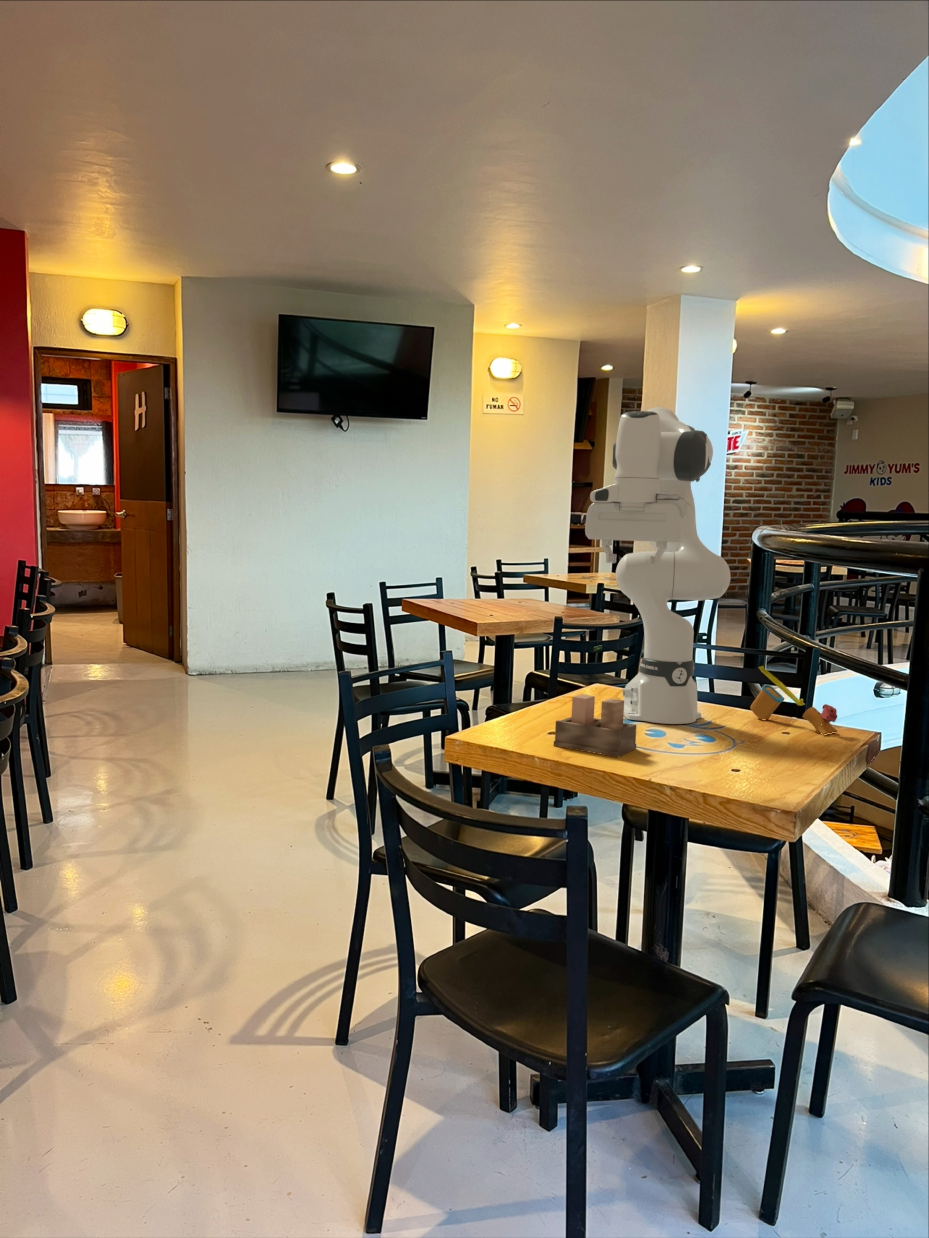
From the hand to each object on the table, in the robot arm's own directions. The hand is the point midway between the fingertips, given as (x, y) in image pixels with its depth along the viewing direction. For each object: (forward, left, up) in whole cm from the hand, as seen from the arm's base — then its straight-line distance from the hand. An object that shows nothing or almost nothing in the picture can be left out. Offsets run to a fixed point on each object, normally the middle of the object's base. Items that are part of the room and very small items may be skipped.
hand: (632, 564), depth 180 cm
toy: (-12, +48, -38) cm, 62 cm away
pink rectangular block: (-3, -8, -36) cm, 37 cm away
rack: (-1, -6, -37) cm, 38 cm away
